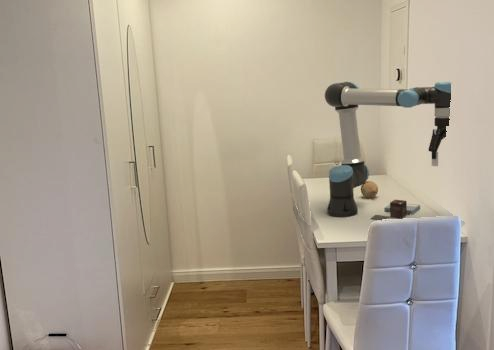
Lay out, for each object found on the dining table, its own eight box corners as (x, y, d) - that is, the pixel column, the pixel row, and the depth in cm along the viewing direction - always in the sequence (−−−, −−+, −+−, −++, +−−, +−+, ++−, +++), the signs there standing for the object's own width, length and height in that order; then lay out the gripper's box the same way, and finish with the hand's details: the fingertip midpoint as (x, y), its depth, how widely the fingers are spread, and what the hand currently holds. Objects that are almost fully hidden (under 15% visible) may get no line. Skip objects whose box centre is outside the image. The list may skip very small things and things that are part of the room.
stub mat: (370, 219, 233) (370, 218, 233) (375, 215, 238) (375, 214, 238) (384, 220, 229) (384, 219, 229) (389, 217, 233) (389, 216, 233)
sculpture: (369, 179, 278) (381, 178, 263) (374, 195, 278) (386, 194, 263) (354, 184, 276) (365, 183, 261) (359, 200, 276) (370, 199, 261)
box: (395, 213, 238) (394, 199, 237) (407, 215, 235) (406, 200, 233) (389, 217, 234) (389, 202, 232) (402, 218, 230) (401, 203, 228)
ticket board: (383, 211, 243) (383, 207, 242) (393, 205, 251) (392, 201, 251) (411, 215, 234) (411, 210, 234) (420, 208, 243) (420, 204, 242)
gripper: (436, 120, 208) (435, 169, 212) (465, 114, 223) (464, 159, 227) (420, 119, 213) (420, 167, 218) (450, 113, 228) (449, 158, 233)
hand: (442, 163), depth 222 cm, fingers open, 13 cm apart
